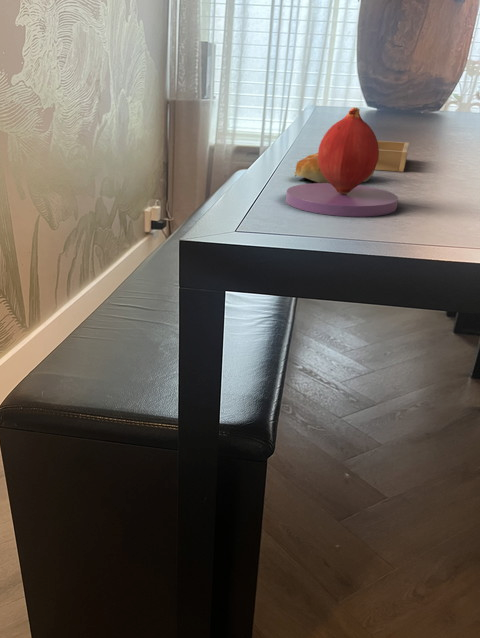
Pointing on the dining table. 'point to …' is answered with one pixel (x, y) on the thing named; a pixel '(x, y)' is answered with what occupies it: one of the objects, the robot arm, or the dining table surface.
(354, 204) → the lid
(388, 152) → the tray
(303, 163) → the pastry
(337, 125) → the onion
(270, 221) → the dining table surface
